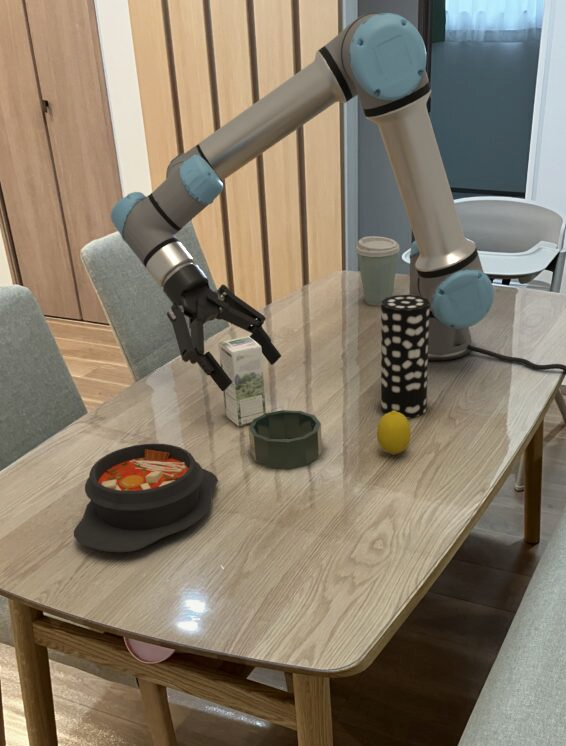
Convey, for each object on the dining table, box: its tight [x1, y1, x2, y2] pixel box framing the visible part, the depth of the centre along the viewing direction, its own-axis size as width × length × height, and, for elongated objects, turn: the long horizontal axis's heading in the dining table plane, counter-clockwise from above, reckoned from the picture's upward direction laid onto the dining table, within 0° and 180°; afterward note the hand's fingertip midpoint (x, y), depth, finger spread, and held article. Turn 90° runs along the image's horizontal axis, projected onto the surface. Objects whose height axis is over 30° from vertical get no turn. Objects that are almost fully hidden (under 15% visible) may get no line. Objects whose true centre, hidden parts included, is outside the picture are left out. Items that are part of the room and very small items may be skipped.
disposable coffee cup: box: [355, 235, 400, 307], centre depth 201 cm, size 11×11×15 cm
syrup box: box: [218, 335, 267, 428], centre depth 147 cm, size 6×6×14 cm
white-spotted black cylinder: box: [380, 294, 430, 419], centre depth 147 cm, size 8×8×20 cm
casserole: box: [73, 443, 219, 553], centre depth 121 cm, size 25×19×8 cm
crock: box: [248, 409, 323, 470], centre depth 138 cm, size 12×12×5 cm
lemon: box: [376, 411, 412, 456], centre depth 135 cm, size 6×6×8 cm
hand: (252, 373), depth 145 cm, fingers open, 13 cm apart
